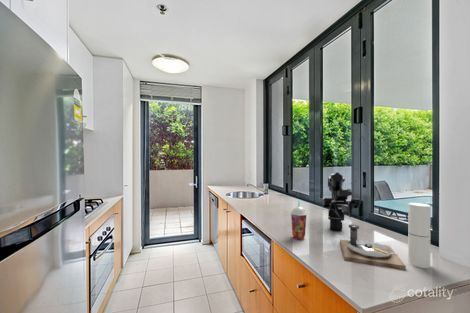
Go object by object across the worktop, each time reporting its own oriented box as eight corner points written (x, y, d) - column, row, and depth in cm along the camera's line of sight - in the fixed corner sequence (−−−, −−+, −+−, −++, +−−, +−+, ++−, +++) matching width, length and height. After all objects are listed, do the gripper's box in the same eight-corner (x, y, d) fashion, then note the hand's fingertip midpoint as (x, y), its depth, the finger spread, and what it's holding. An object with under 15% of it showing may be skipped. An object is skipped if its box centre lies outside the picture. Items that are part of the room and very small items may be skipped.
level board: (344, 259, 96) (344, 256, 96) (340, 242, 116) (340, 238, 116) (406, 269, 88) (406, 265, 88) (390, 248, 108) (390, 245, 108)
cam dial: (350, 254, 97) (350, 231, 97) (345, 240, 113) (346, 220, 113) (396, 261, 91) (396, 236, 91) (385, 246, 107) (385, 224, 107)
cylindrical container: (403, 260, 96) (404, 202, 96) (419, 259, 97) (419, 202, 97) (418, 268, 89) (419, 206, 89) (435, 267, 90) (435, 206, 90)
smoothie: (306, 236, 125) (306, 200, 125) (306, 241, 117) (306, 203, 117) (291, 234, 127) (291, 199, 127) (290, 239, 120) (290, 202, 120)
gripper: (323, 183, 122) (330, 207, 111) (359, 184, 120) (369, 209, 109) (319, 195, 130) (325, 219, 119) (353, 196, 127) (362, 220, 116)
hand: (345, 216), depth 115 cm, fingers open, 5 cm apart
